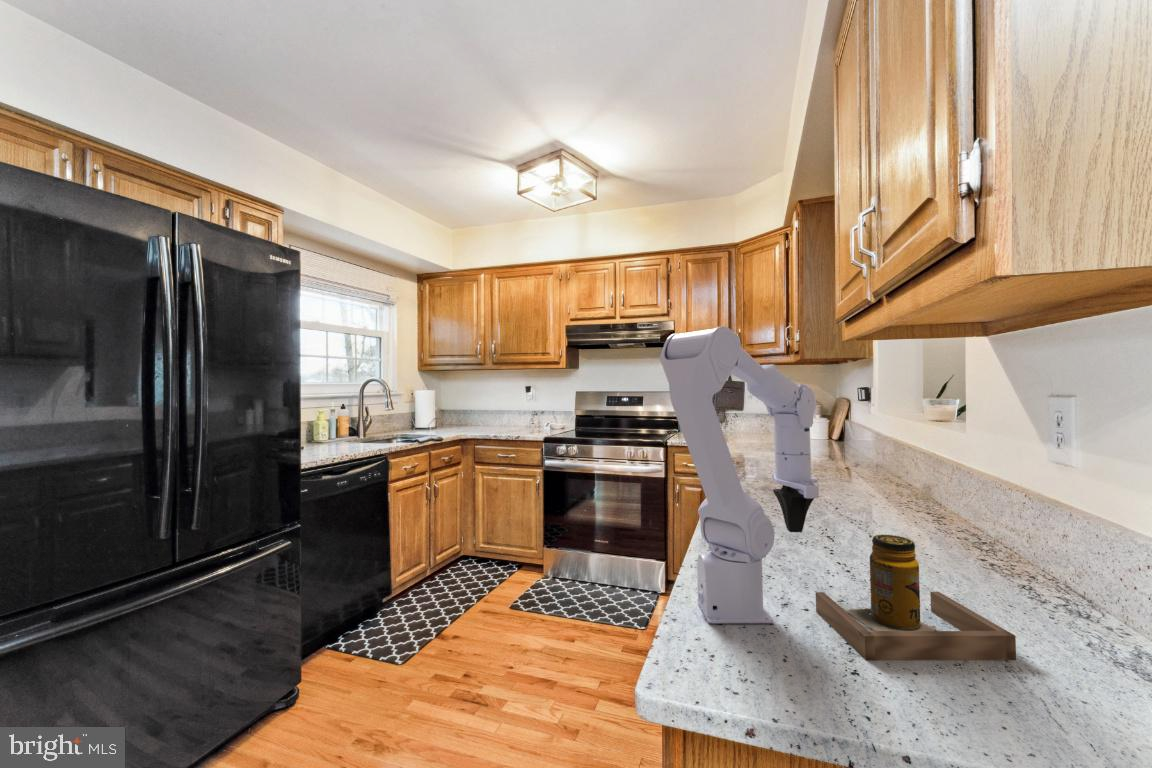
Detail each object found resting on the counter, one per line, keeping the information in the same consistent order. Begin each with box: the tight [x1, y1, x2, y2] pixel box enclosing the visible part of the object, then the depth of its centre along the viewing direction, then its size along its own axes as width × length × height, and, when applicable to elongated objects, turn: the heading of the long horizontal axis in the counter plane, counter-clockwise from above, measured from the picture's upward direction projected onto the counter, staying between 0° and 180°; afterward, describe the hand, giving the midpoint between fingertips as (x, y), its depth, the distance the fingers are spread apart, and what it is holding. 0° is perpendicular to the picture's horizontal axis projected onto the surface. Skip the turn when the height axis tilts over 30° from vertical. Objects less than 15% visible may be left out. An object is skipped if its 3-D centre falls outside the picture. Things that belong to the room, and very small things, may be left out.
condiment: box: [845, 534, 937, 631], centre depth 70 cm, size 7×8×12 cm
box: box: [815, 590, 1017, 661], centre depth 66 cm, size 18×13×3 cm
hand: (794, 531), depth 83 cm, fingers closed
